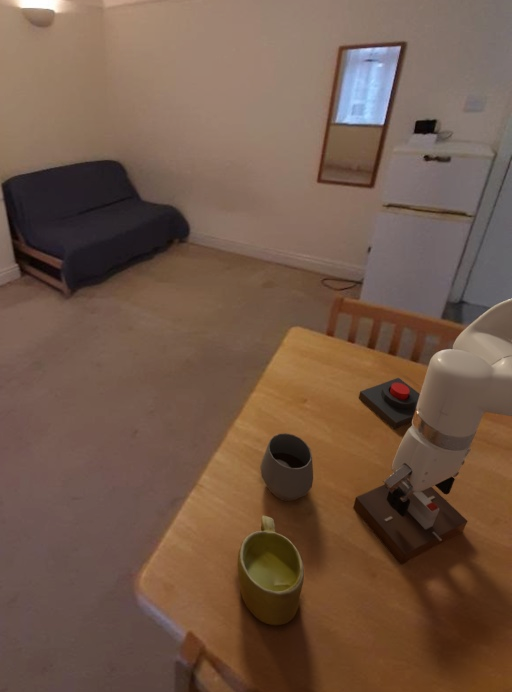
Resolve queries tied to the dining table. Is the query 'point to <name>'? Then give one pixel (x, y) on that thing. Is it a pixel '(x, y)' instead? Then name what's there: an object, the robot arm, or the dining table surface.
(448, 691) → the dining table surface
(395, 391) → the timer button
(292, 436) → the cup
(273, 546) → the mug
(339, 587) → the dining table surface
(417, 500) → the dial knob
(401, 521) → the switch base
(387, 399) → the black button base
